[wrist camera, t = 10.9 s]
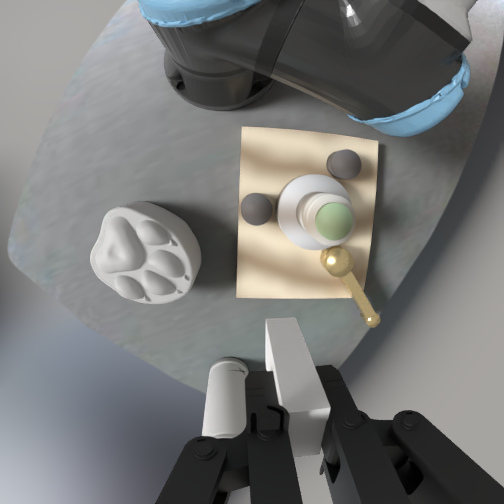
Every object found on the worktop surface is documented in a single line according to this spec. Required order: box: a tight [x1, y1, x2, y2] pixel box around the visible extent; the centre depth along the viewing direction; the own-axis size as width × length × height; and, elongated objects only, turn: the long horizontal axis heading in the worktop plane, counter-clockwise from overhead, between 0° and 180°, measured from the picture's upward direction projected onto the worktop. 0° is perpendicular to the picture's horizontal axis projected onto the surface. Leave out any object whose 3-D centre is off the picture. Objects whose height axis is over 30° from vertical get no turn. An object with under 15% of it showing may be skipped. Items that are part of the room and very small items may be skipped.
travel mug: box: [202, 357, 249, 441], centre depth 34 cm, size 6×7×20 cm
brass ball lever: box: [320, 245, 380, 327], centre depth 37 cm, size 13×4×3 cm, turn 36°
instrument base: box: [236, 127, 378, 298], centre depth 33 cm, size 22×18×12 cm
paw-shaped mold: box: [90, 201, 201, 304], centre depth 34 cm, size 10×13×9 cm
